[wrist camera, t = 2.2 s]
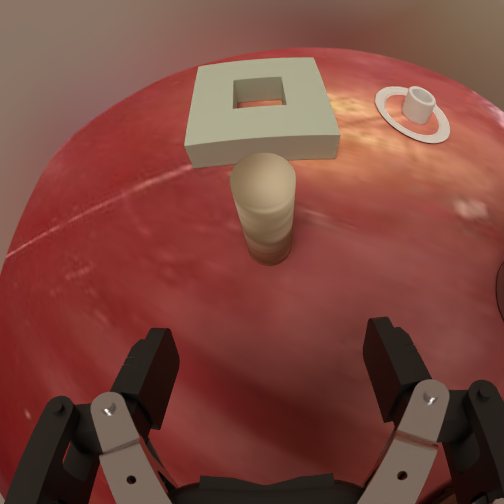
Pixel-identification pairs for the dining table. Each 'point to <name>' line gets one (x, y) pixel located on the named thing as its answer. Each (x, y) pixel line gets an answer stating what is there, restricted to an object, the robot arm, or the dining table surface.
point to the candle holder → (415, 111)
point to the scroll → (446, 497)
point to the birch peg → (265, 205)
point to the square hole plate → (260, 112)
